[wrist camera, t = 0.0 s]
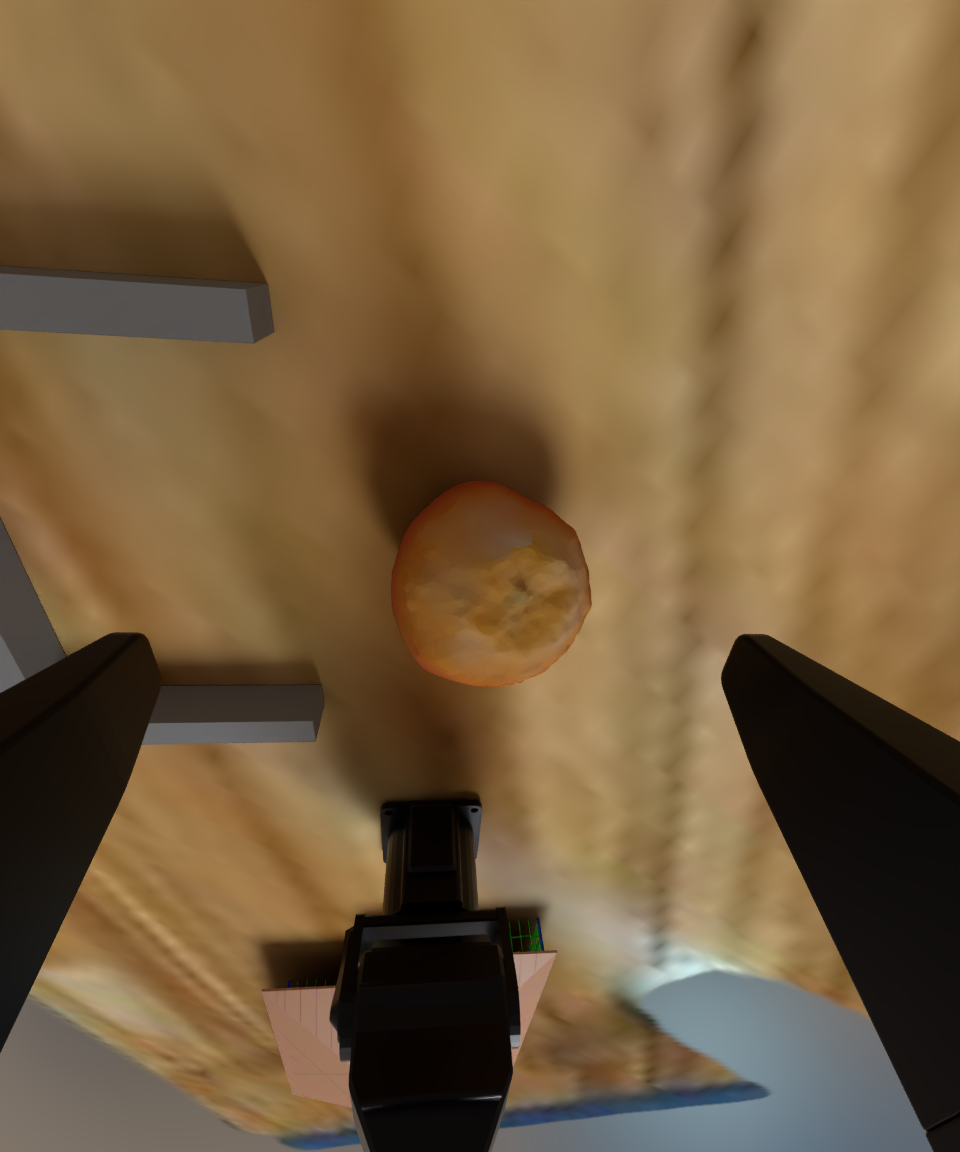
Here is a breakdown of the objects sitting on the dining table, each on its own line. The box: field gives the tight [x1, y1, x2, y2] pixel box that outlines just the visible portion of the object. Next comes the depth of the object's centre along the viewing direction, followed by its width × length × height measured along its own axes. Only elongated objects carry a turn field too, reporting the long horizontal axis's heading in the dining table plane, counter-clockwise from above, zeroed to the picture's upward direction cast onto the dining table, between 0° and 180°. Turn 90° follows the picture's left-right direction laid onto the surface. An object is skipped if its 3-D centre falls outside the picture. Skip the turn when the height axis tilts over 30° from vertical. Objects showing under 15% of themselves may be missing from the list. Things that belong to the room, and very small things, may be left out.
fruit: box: [391, 481, 592, 687], centre depth 22 cm, size 8×8×8 cm
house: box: [261, 918, 557, 1108], centre depth 48 cm, size 23×33×8 cm
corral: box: [0, 266, 324, 745], centre depth 21 cm, size 20×14×2 cm
